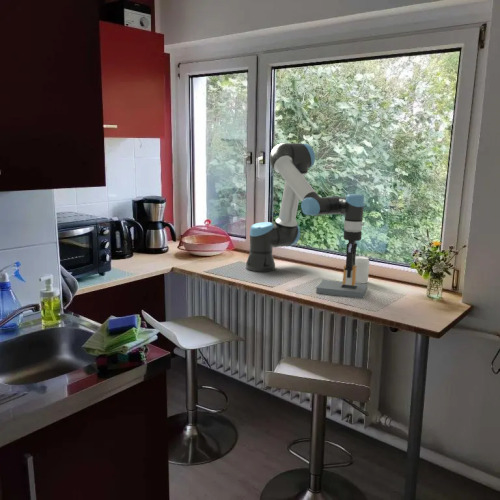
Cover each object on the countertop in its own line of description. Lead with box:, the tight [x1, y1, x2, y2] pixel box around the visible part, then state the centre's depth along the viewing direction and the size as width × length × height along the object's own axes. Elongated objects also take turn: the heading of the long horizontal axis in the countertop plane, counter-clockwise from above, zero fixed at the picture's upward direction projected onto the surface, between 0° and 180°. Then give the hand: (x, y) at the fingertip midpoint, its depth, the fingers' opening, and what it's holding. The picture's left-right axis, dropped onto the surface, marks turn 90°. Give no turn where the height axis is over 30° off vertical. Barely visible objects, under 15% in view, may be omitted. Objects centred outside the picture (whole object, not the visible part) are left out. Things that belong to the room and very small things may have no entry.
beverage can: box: [355, 255, 370, 284], centre depth 235 cm, size 8×8×12 cm
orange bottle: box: [342, 264, 357, 286], centre depth 218 cm, size 5×4×10 cm
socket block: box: [315, 279, 368, 299], centre depth 220 cm, size 20×14×2 cm
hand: (349, 283), depth 219 cm, fingers closed on orange bottle, 4 cm apart
